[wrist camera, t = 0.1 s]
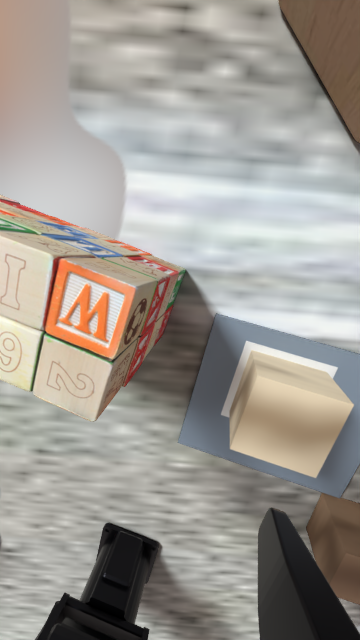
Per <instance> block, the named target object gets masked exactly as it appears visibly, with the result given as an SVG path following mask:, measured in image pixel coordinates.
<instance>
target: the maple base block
mask: <svg viewBox="0 0 360 640" xmlns="http://www.w3.org/2000/svg"><path fill="white" fill-rule="evenodd" d="M353 406H354V404H353V403H352V402H351V400H350V399H349V398H348V397H347V396H346V394H345V393H344V392H343V391H342V390H341V388H340V387H339V386H338V385H337V384H336V382H335V381H334V380H333V379H332V378H331V376H330V375H329V374H328V373H327V372H325V371H321V370H318V369H315V368H311V367H308V366H304V365H301V364H298V363H294V362H291V361H287V360H284V359H281V358H277V357H274V356H270V355H267V354H264V353H260V352H257V351H253V350H251V352H250V355H249V358H248V361H247V363H246V366H245V369H244V372H243V375H242V377H241V380H240V383H239V386H238V389H237V391H236V394H235V397H234V400H233V403H232V405H231V408H230V411H229V419H230V449H231V450H234V451H237V452H240V453H243V454H246V455H249V456H252V457H255V458H258V459H261V460H264V461H267V462H270V463H272V464H275V465H278V466H281V467H284V468H287V469H290V470H293V471H296V472H299V473H302V474H305V475H308V476H311V477H314V478H316V477H317V475H318V473H319V471H320V469H321V467H322V466H323V464H324V462H325V460H326V458H327V456H328V454H329V452H330V450H331V448H332V446H333V444H334V443H335V441H336V439H337V437H338V435H339V433H340V431H341V429H342V427H343V425H344V423H345V422H346V420H347V418H348V416H349V414H350V412H351V410H352V408H353Z"/></svg>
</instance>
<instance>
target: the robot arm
mask: <svg viewBox="0 0 360 640" xmlns="http://www.w3.org/2000/svg"><path fill="white" fill-rule="evenodd" d="M158 548H159V544H158V543H157V542H155V541H152V540H150V539H147V538H145V537H142V536H140V535H137V534H134V533H132V532H129V531H127V530H124V529H122V528H119V527H117V526H114V525H111V524H109V523H106V524H105V526H104V528H103V531H102V536H101V541H100V545H99V550H98V554H97V559H96V563H95V565H94V568H93V570H92V572H91V575H90V577H89V579H88V582H87V584H86V586H85V589H84V591H83V593H82V596H81V598H80V600H77V599H75V598H73V597H70V595H69V594H67V593H64V595H63V596H62V598H61V600H60V601H57V602H56V603H55V605H54V607H53V609H52V611H51V613H50V615H49V617H48V619H47V621H46V623H45V625H44V626H43V628H42V630H41V631H40V633H39V634H38V636H37V637H36V639H35V640H148V634H149V629H148V628H145V627H144V628H142V627H139V626H137V625H135V620H136V616H137V612H138V608H139V604H140V600H141V596H142V592H143V588H144V584H146V583H147V582H148V580H149V577H150V573H151V570H152V567H153V564H154V561H155V558H156V555H157V551H158ZM258 617H259V631H260V640H360V633H359V632H358V630H357V628H356V627H355V625H354V624H353V622H352V620H351V619H350V617H349V615H348V614H347V612H346V611H345V609H344V607H343V606H342V604H341V602H340V601H339V599H338V597H337V596H336V594H335V593H334V591H333V589H332V588H331V586H330V584H329V583H328V581H327V579H326V578H325V576H324V575H323V573H322V571H321V570H320V568H319V566H318V565H317V563H316V562H315V560H314V558H313V557H312V555H311V553H310V552H309V550H308V548H307V547H306V545H305V544H304V542H303V540H302V539H301V537H300V535H299V534H298V532H297V531H296V529H295V527H294V526H293V524H292V522H291V521H290V519H289V517H288V516H287V515H286V513H284V512H283V511H280V510H277V509H275V508H269V510H268V511H267V513H266V515H265V517H264V519H263V521H262V523H261V526H260V528H259V533H258Z"/></svg>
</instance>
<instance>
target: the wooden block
mask: <svg viewBox="0 0 360 640" xmlns="http://www.w3.org/2000/svg"><path fill="white" fill-rule="evenodd" d="M279 6H280V8H281V10H282V11H283V13H284V15H285V17H286V19H287V20H288V22H289V24H290V26H291V27H292V29H293V31H294V33H295V34H296V36H297V38H298V40H299V42H300V43H301V45H302V47H303V49H304V50H305V52H306V54H307V56H308V57H309V59H310V61H311V63H312V65H313V66H314V68H315V70H316V72H317V73H318V75H319V77H320V79H321V80H322V82H323V84H324V86H325V88H326V89H327V91H328V93H329V95H330V96H331V98H332V100H333V102H334V104H335V105H336V107H337V109H338V111H339V112H340V114H341V116H342V118H343V119H344V121H345V123H346V125H347V127H348V128H349V130H350V132H351V134H352V135H353V137H354V139H355V140H356V141H357V142H358V143H360V0H279Z"/></svg>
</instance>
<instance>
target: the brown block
mask: <svg viewBox="0 0 360 640" xmlns="http://www.w3.org/2000/svg"><path fill="white" fill-rule="evenodd" d="M306 529H307V532H308V536H309V539H310V543H311V546H312V550H313V553H314V557H315V560H316V563H317V565H318V566H319V568H320V570H321V571H322V573H323V575H324V576H325V578H326V579H327V581H328V583H329V584H330V586H331V588H332V589H333V591H334V593H335V594H336V596H337V597H339V598H341V599H344V600H347V601H350V602H353V603H356V604H359V605H360V503H356V502H353V501H350V500H346V499H343V498H337V497H334V496H331V495H328V494H325V493H322V494H321V496H320V498H319V500H318V503H317V505H316V507H315V509H314V511H313V513H312V516H311V518H310V520H309V522H308V524H307V527H306Z"/></svg>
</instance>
